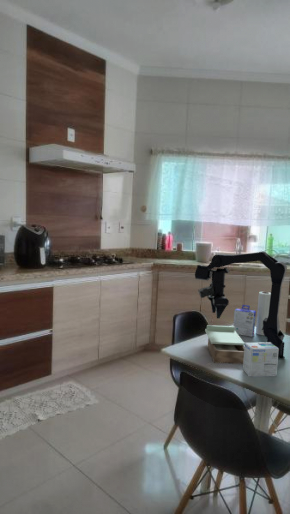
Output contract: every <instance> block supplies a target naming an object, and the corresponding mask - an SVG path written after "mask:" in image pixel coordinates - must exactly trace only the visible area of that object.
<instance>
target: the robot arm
mask: <svg viewBox="0 0 290 514" xmlns="http://www.w3.org/2000/svg"><path fill="white" fill-rule="evenodd" d="M251 262H253V263H254V262H260V263H261V264H262V265H264V266H265V267H266V268H267V269H268V270H269V271H270V279H271V289H270V290H271V291H270V293H271V297H270V305H269V314H268V318H265V319H264V320H263V328H262V330H263V333H264V335H265V336H264V335H263V336H264V337H265V338H266V342H271V343H272V344H273V345H275V346H276V347H278V348H279V351H278V359H285V358H286V357H285V356H284V354H285V353H284V351H285V342H284V338H285V337H286V336H285V334H284V333H283V331H281V329H280V324H281V323H280V319H279V312H280V305H281V304H280V303H281V295H282V288H283V282H284V279H285V277H286V273H287V270H288V266H287V264H286V263H285V262H283V261H278V260H277V259H276V258H274V257H273V256H271V255H269V254H268V252H266V251H263V250H261V251H258V252H250V253H241V254H229V253H218V254H215V255H213V257H212V258H211V261H210V263H208V265H202V264H197V266H196V270H195V272H194V277H195V279H196V280H201V281H210V279H211V282H210V283H209V286H206V287H202V288H199V289H198V295H199V297H200V298H201V299H204V298H206V297H207V298H206V299H208V300H209V301H210V306H211V313H212V314H215V315H216V319H220V318H221V316H222V314H223V313H224V311H225V309H226V308H227V306H228V305H229V304H230V303H229V301H230V300H229V299H228V298H227V297H226V295H225V288H226V284H225V280H226V274H229V273H231V272H230V270H229V269H228V268H227V267H226V266H229V265H232V264H233V265H234V264H242V263H243V264H244V263H251ZM222 267H224V268H222Z"/></svg>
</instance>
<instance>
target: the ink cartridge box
mask: <svg viewBox="0 0 290 514" xmlns="http://www.w3.org/2000/svg"><path fill="white" fill-rule="evenodd" d="M256 317H257V312H256V310H252V309H250V305H248V304H242V306H241V308H235V310H234V312H233V324H232V326H234V327H235V331H236V333H237V334H238V335H239V336H245V337H251V338H252V337H253V336H254V335H255V330H256Z"/></svg>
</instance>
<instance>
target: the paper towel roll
mask: <svg viewBox="0 0 290 514" xmlns="http://www.w3.org/2000/svg"><path fill="white" fill-rule="evenodd" d="M270 297H271V292H270V291H268V292H267V291H259V292H258V302H257V312H256V323H255V333H256V335H259V336H264V337H266V336H265V335H264V333H263V330H262V328H263V320H264V319H265V318H268V314H269V305H270Z"/></svg>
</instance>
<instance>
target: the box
mask: <svg viewBox="0 0 290 514" xmlns="http://www.w3.org/2000/svg"><path fill="white" fill-rule="evenodd" d="M207 338H208V337H207ZM244 346H245V345H228V344H211V342H210V340H209V338H208V339H207V349H208V352H209V354H210V356H211V358H212V361H213V363H214V364H230V365H231V364H232V365H234V364H235V365H243V361H244Z"/></svg>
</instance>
